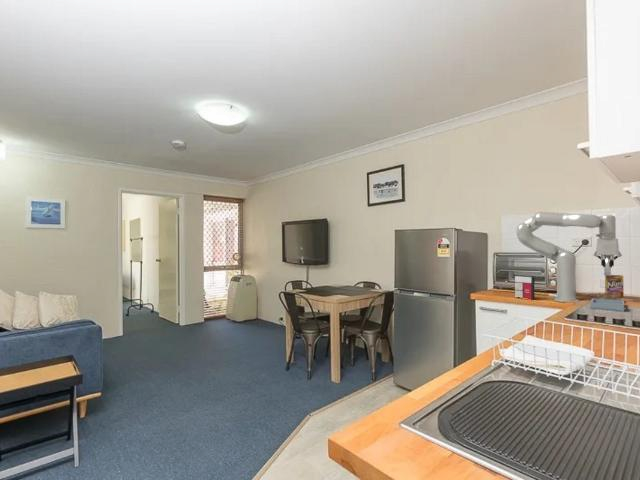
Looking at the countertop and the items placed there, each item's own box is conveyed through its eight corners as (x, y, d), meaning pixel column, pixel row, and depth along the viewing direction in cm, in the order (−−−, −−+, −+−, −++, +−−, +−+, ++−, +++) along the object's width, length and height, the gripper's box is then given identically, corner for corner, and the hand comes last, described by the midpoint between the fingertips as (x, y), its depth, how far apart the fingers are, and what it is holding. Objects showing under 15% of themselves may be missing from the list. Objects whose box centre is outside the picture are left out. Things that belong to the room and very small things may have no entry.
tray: (590, 308, 191) (590, 302, 191) (592, 304, 204) (592, 298, 204) (623, 311, 181) (623, 305, 181) (624, 306, 195) (624, 300, 195)
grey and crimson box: (514, 298, 229) (513, 275, 229) (517, 297, 231) (516, 275, 232) (532, 300, 220) (531, 276, 220) (535, 299, 223) (534, 276, 223)
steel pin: (602, 275, 205) (602, 253, 205) (602, 275, 208) (602, 253, 208) (612, 276, 202) (612, 253, 202) (612, 275, 205) (612, 253, 205)
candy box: (605, 298, 225) (605, 275, 225) (605, 297, 228) (604, 274, 229) (623, 299, 220) (623, 275, 220) (622, 298, 223) (622, 275, 224)
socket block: (597, 303, 207) (597, 294, 207) (598, 301, 215) (598, 293, 215) (619, 305, 200) (619, 296, 201) (619, 302, 208) (619, 294, 208)
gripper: (589, 236, 207) (589, 266, 207) (626, 235, 197) (626, 268, 197) (590, 236, 213) (590, 266, 213) (625, 236, 203) (625, 267, 203)
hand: (607, 266), depth 205 cm, fingers closed on steel pin, 3 cm apart
